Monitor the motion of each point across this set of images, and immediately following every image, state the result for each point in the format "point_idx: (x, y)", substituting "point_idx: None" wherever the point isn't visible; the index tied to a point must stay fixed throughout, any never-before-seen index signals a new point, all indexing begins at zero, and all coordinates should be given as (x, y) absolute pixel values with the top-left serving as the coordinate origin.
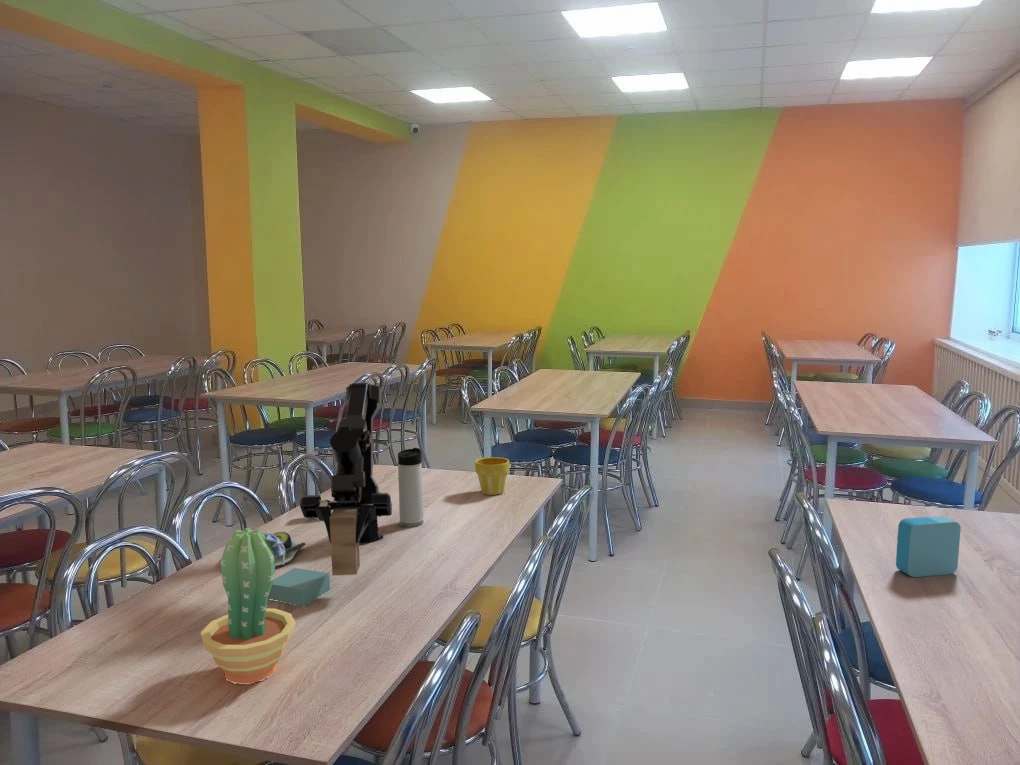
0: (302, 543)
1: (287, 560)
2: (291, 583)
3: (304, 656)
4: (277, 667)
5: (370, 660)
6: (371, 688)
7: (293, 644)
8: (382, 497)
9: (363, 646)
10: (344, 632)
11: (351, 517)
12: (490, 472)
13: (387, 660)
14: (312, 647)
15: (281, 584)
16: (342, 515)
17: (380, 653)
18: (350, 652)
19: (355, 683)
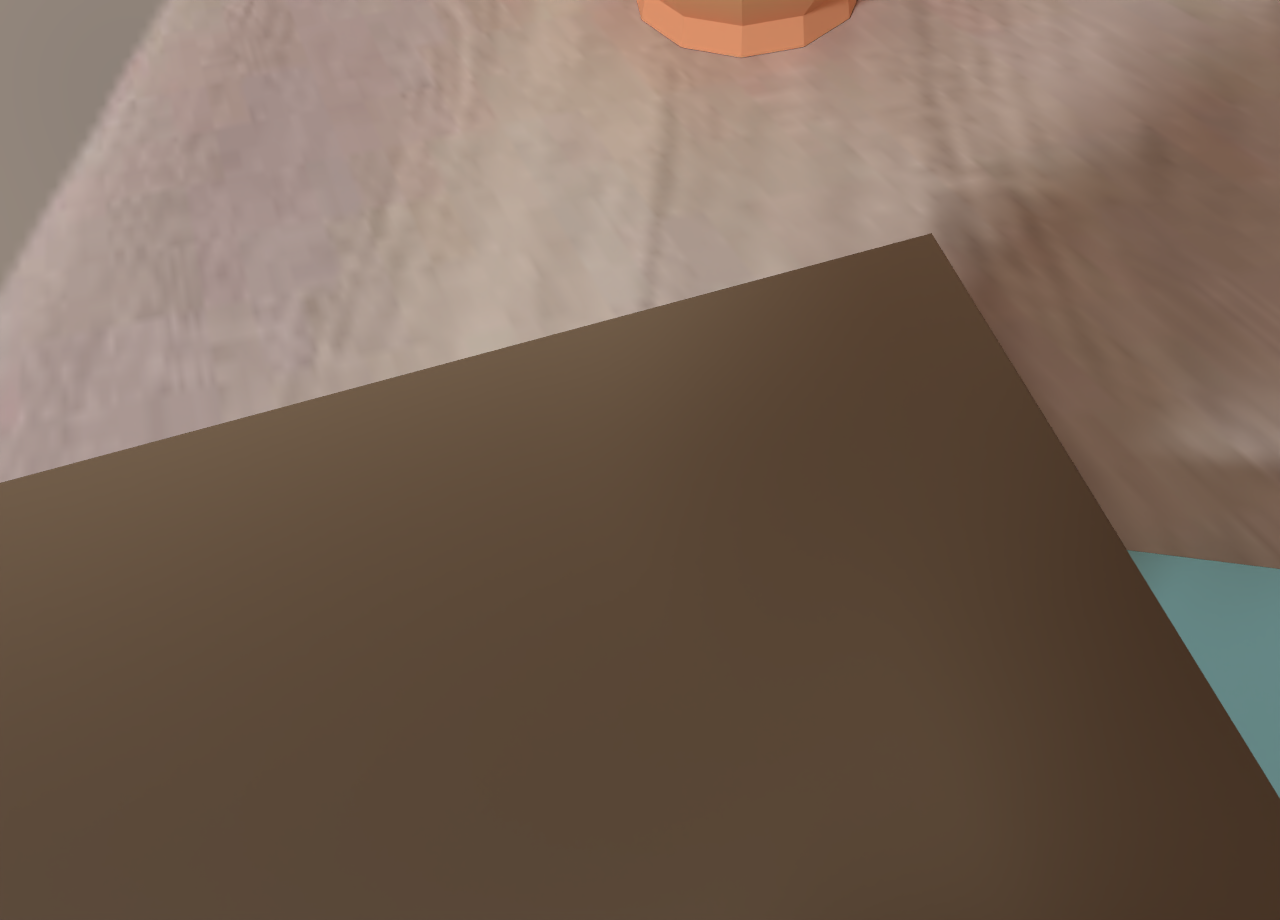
0: None
1: None
2: (1189, 642)
3: (574, 105)
4: (640, 1)
5: (245, 142)
6: (207, 5)
7: (689, 171)
8: None
9: (306, 230)
10: (457, 328)
11: (25, 501)
12: None
13: (164, 158)
14: (573, 170)
15: (1269, 595)
16: (461, 551)
17: (206, 197)
18: (359, 174)
19: (276, 13)
